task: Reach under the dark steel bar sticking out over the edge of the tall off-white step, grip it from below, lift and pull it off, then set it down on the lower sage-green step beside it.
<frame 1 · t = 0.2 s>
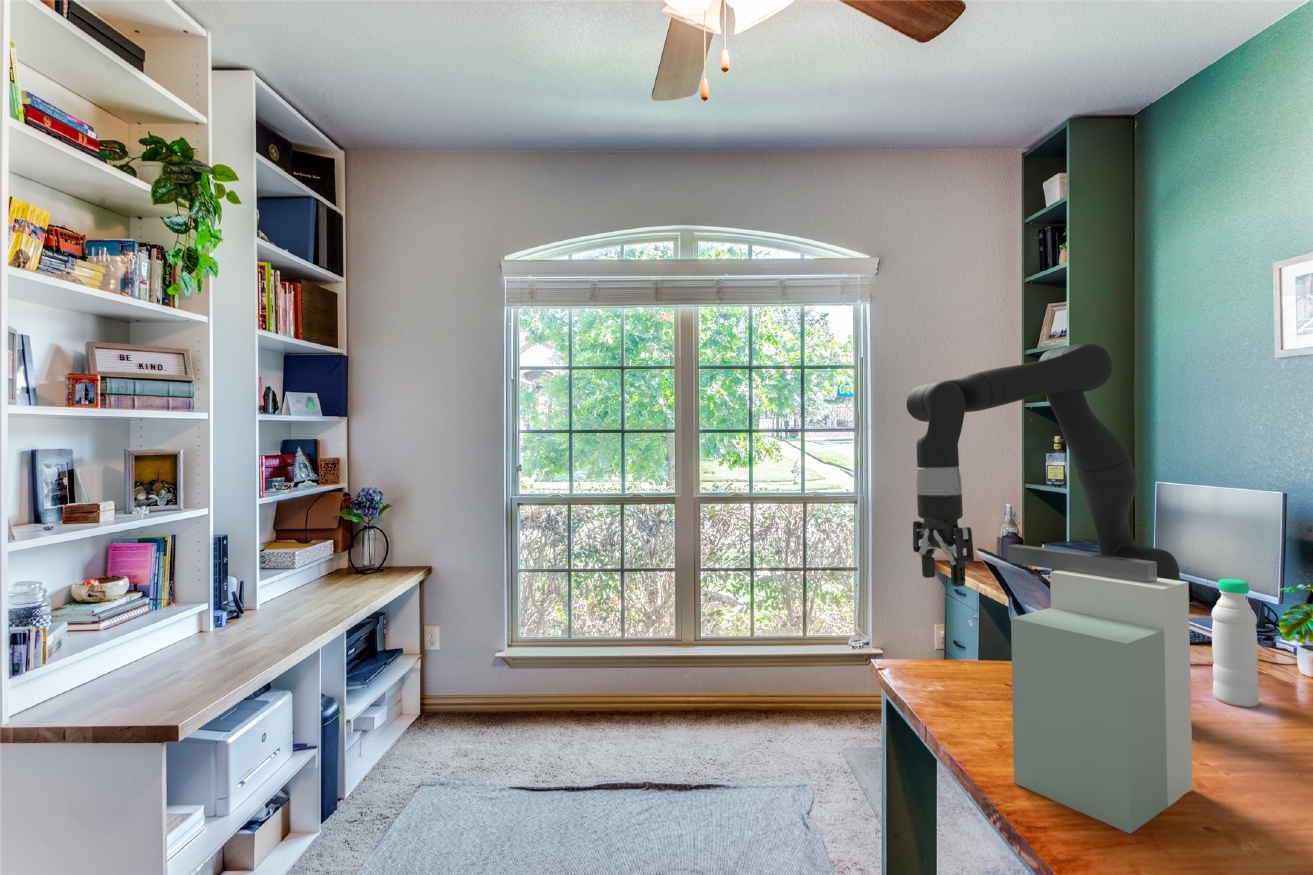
hand: (943, 581, 117), 29 cm above the table, tool pointing down, fingers open, 8 cm apart
water bottle: (1235, 702, 134), on the table
stepped stand: (1067, 755, 111), on the table
steel bar: (1076, 570, 110), point 32 cm above the table, touching stepped stand
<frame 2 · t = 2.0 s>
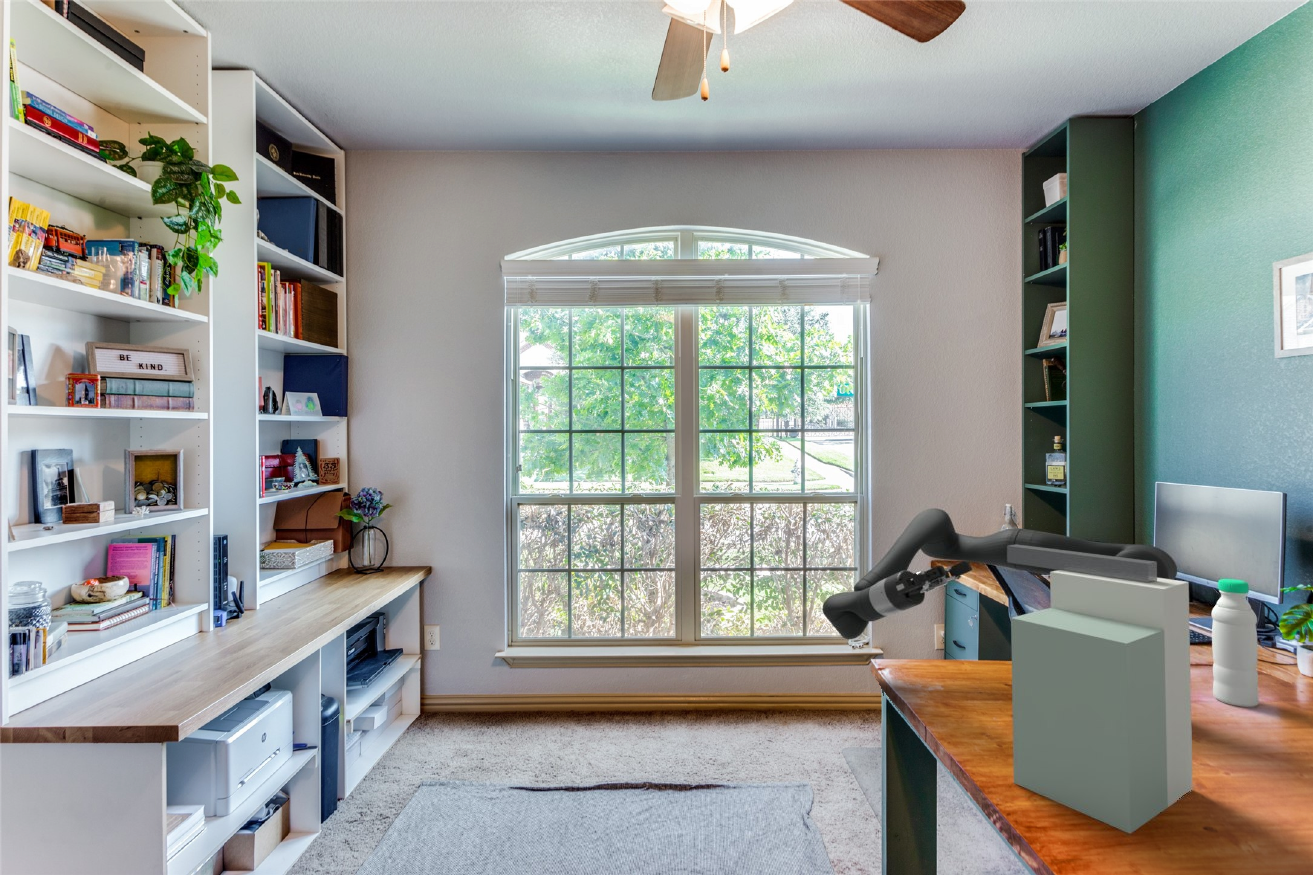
hand: (956, 567, 128), 29 cm above the table, tool pointing upward, fingers open, 8 cm apart
nothing on the table moved.
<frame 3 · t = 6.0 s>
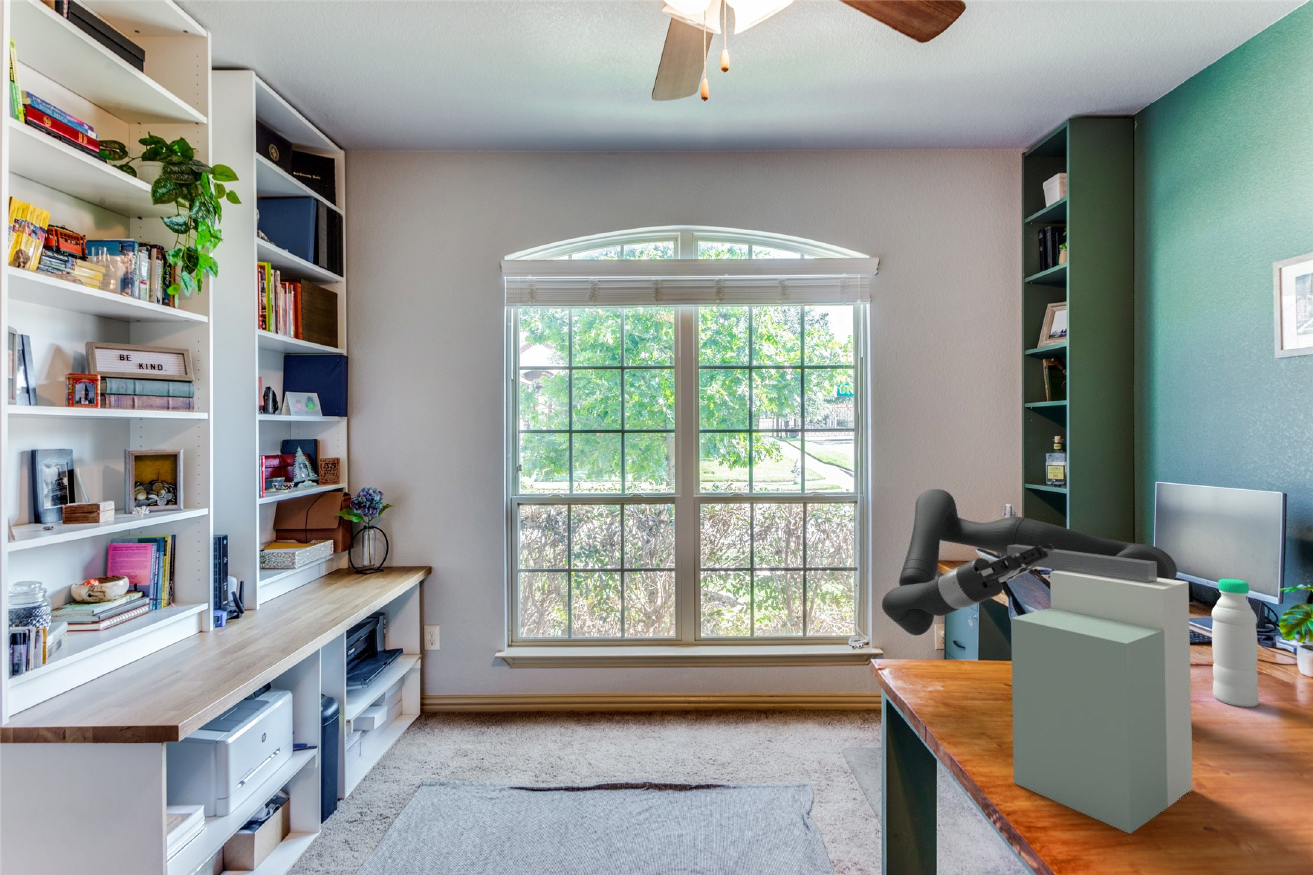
hand: (1048, 550, 113), 35 cm above the table, tool pointing upward, fingers closed on steel bar, 3 cm apart
steel bar: (1076, 570, 110), point 32 cm above the table, touching gripper, stepped stand
everything else where it was.
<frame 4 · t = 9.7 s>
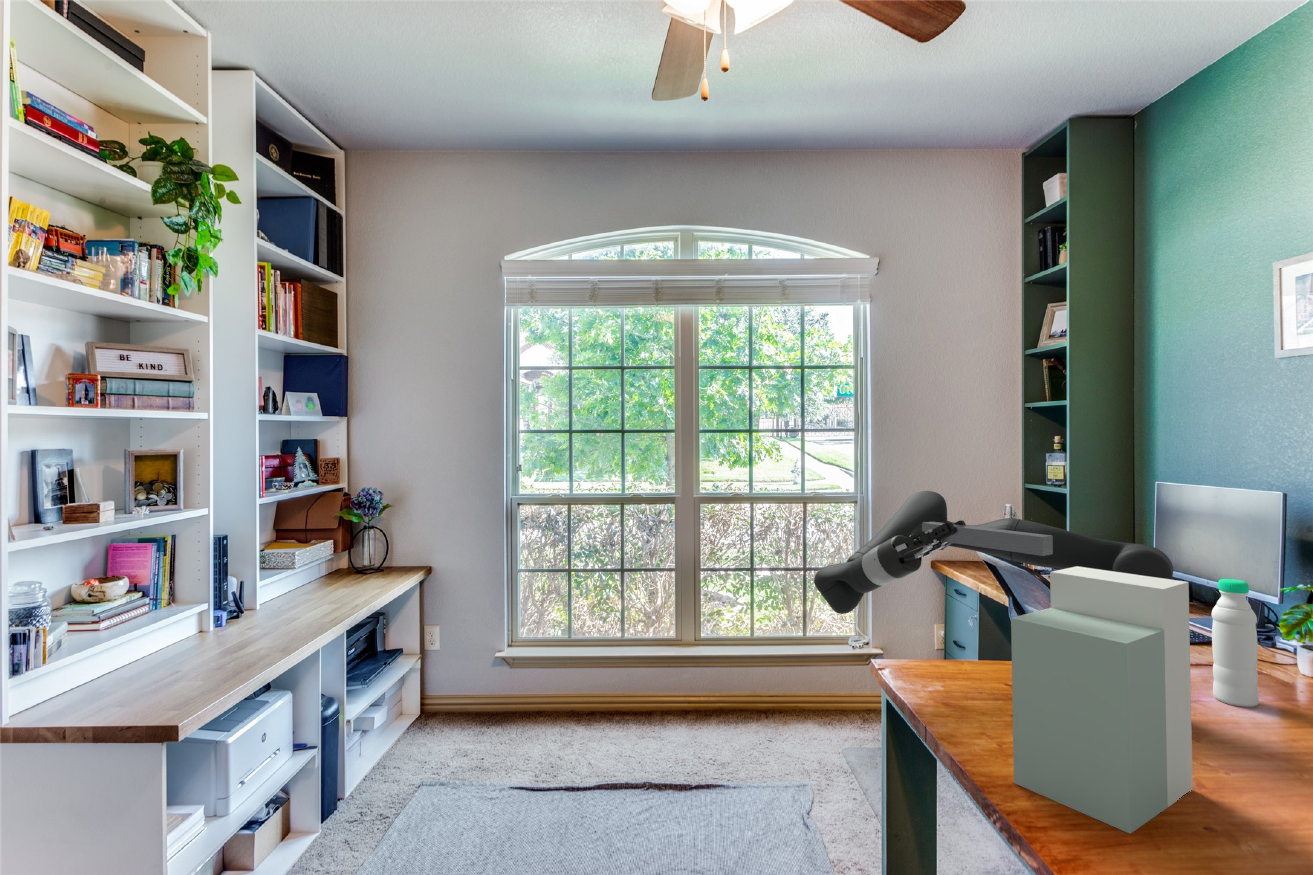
hand: (958, 525, 117), 39 cm above the table, tool pointing upward, fingers closed on steel bar, 3 cm apart
steel bar: (982, 545, 113), point 36 cm above the table, touching gripper
everything else where it was.
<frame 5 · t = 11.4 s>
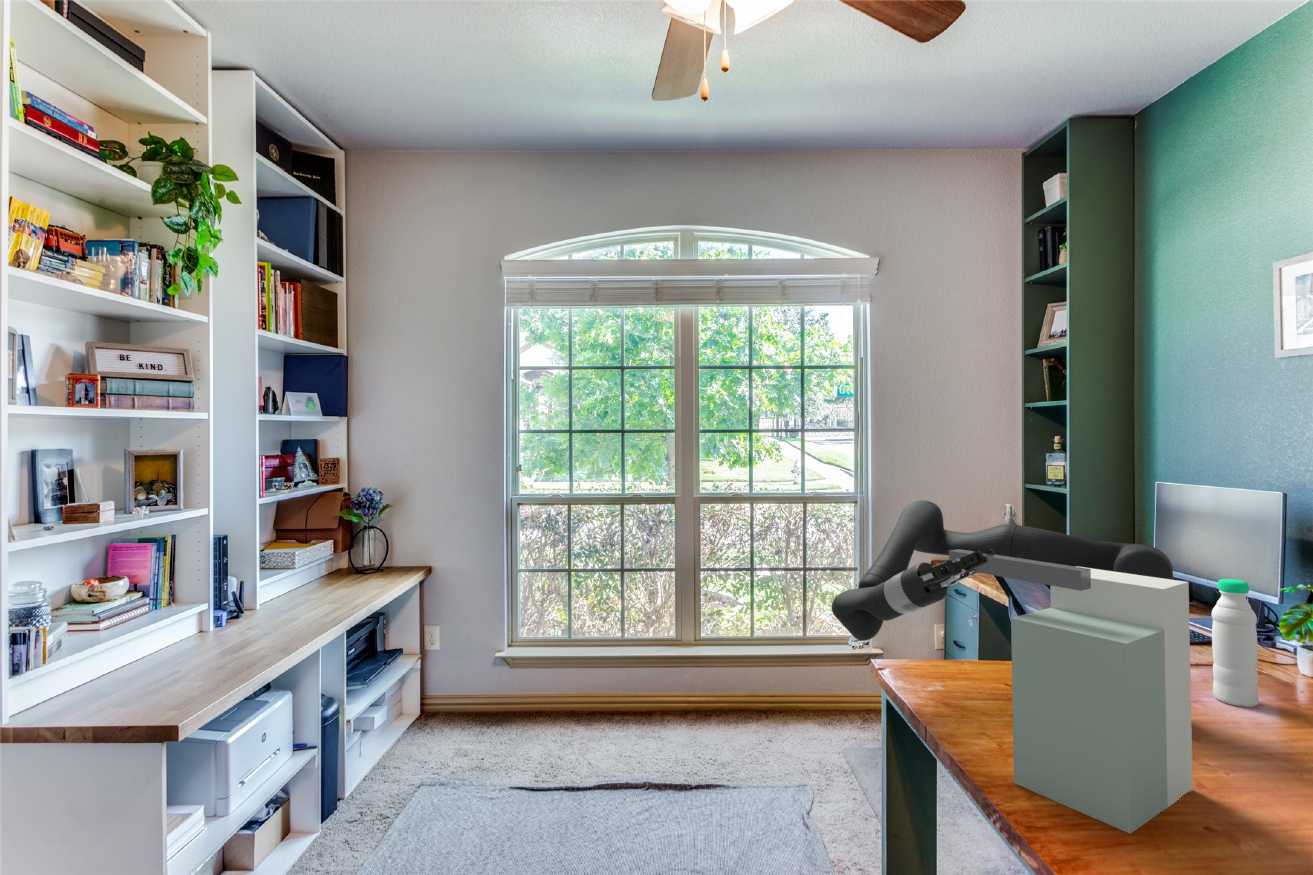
hand: (988, 555, 112), 34 cm above the table, tool pointing upward, fingers closed on steel bar, 3 cm apart
steel bar: (1014, 576, 108), point 31 cm above the table, touching gripper
everything else where it was.
when the fingers open (30 cm above the table, at t = 13.1 s): steel bar drops 1 cm, resting on stepped stand.
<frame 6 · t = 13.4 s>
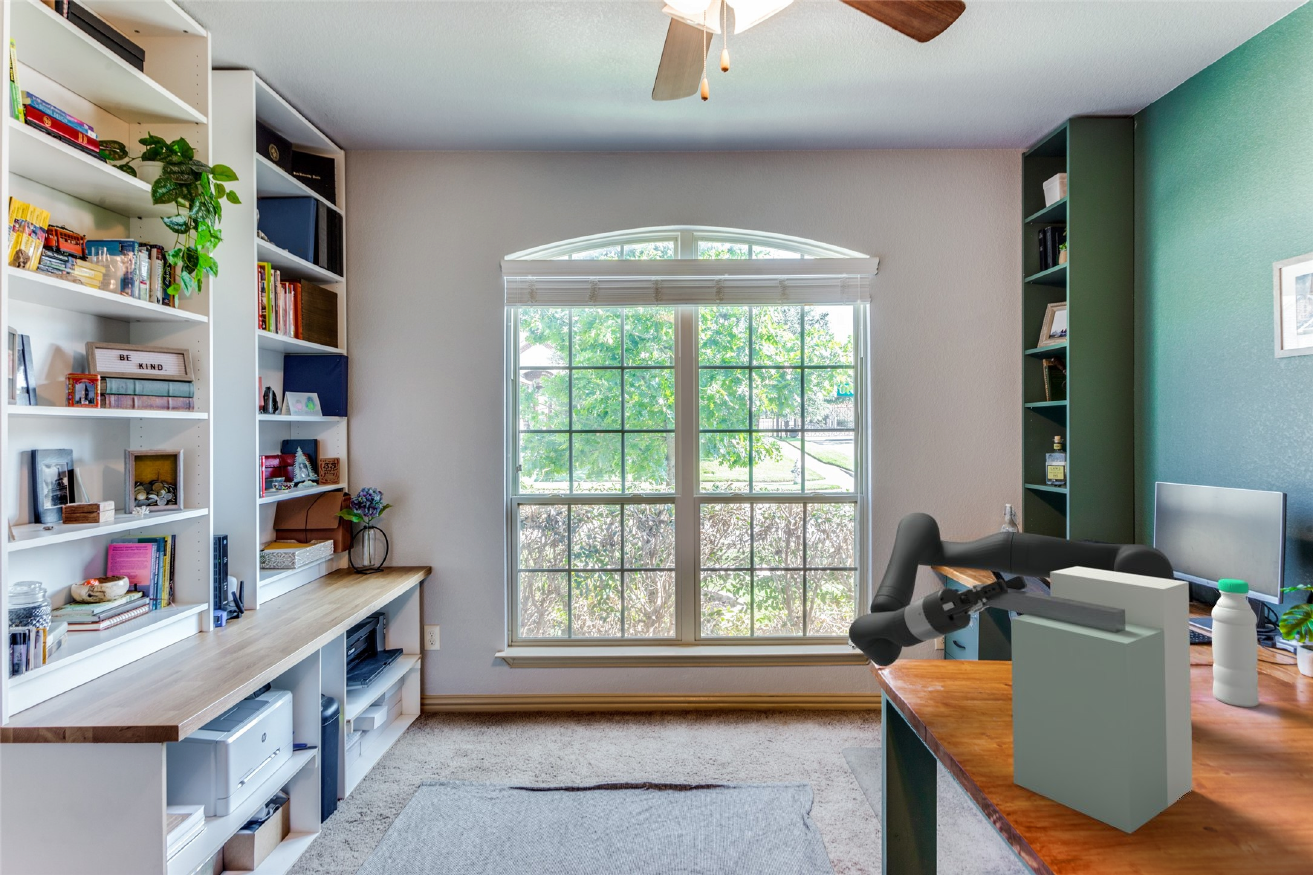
hand: (1014, 583, 108), 30 cm above the table, tool pointing upward, fingers open, 5 cm apart
steel bar: (1043, 615, 104), point 26 cm above the table, touching stepped stand
everything else where it was.
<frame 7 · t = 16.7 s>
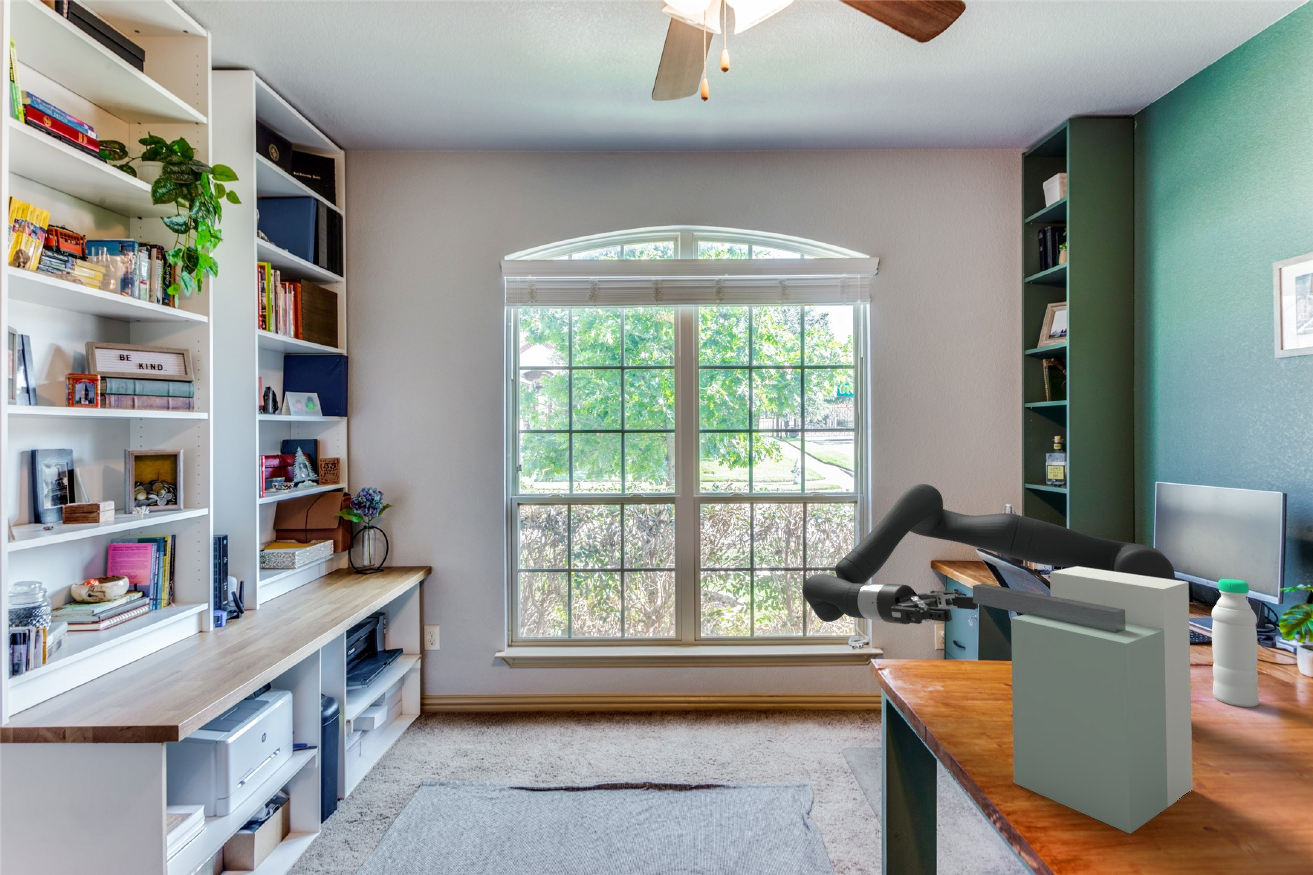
hand: (963, 609, 115), 24 cm above the table, tool horizontal, fingers open, 8 cm apart
nothing on the table moved.
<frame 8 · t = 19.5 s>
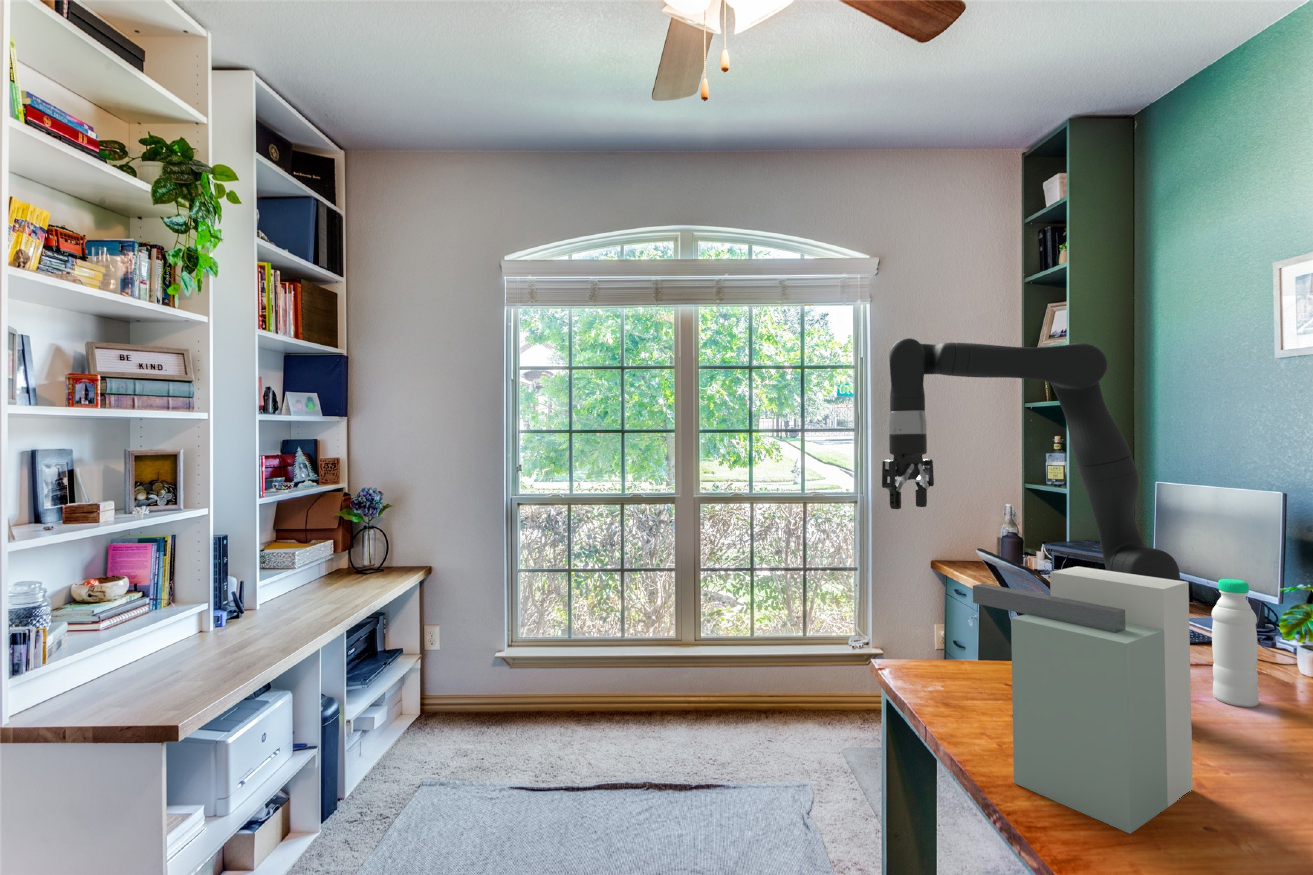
hand: (908, 507, 139), 40 cm above the table, tool pointing down, fingers open, 8 cm apart
nothing on the table moved.
at the end: steel bar inside the target area (0.1 cm from its centre), point 26.0 cm above the table; the gripper is holding nothing; steel bar tilted 0° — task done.
